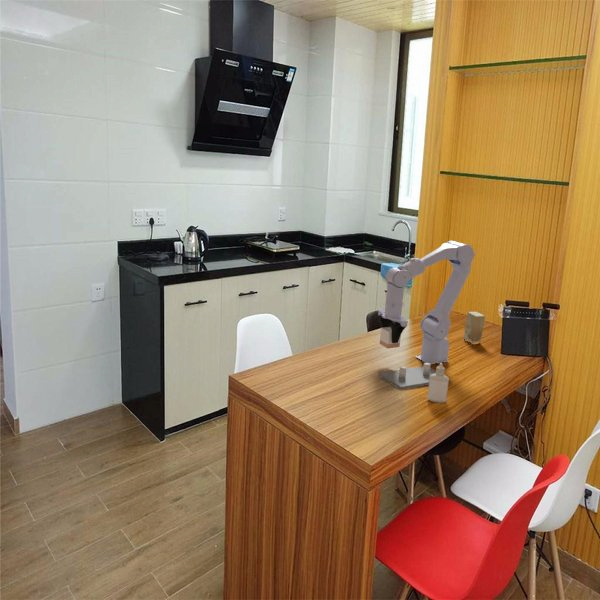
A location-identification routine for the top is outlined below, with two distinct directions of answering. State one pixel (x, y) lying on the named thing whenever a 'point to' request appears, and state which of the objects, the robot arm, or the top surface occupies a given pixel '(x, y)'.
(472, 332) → the skincare box
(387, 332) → the sleeve
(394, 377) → the pin board
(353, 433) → the top surface
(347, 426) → the top surface
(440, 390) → the eye dropper bottle
